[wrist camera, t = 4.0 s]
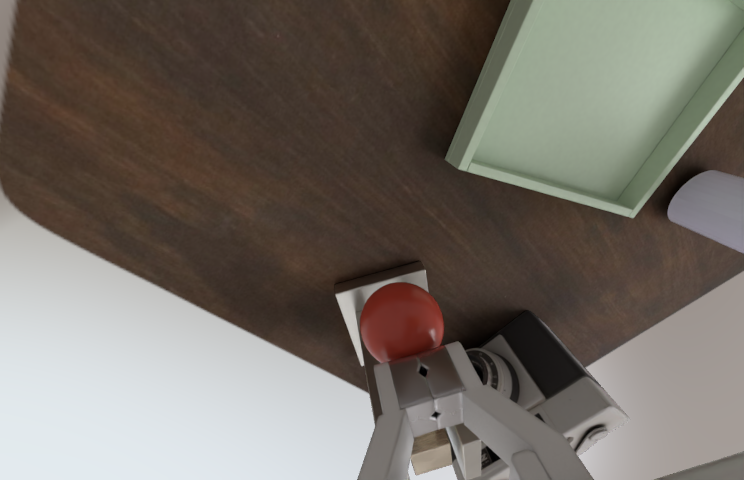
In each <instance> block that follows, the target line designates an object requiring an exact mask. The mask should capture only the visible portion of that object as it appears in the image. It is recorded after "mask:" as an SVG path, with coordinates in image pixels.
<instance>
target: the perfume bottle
mask: <svg viewBox="0 0 744 480" xmlns="http://www.w3.org/2000/svg"><path fill="white" fill-rule="evenodd" d="M668 218H669V219H670V221H672V222H674V223H676V224H678V225H680V226H683V227H685V228H687V229H689V230H692V231H694V232H696V233H698V234H701V235H703V236H705V237H707V238H709V239H712V240H714V241H716V242H718V243H721V244H723V245H725V246H727V247H730V248H732V249H734V250H736V251H738V252H741V253H743V254H744V178H742V177H739V176H735V175H731V174H728V173H724V172H720V171H716V170H710V171H705V172H703V173H700V174H698V175H697V176H695V177H693V178H692V179H690V180H689V181H688V182H687V183H685V184H684V185H683V186H682V187H681V188H680V189H679V190H678V191H677V193H676V194H675V195H674V197H673V199H672V200H671V202H670V204H669V207H668Z"/></svg>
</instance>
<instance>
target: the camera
mask: <svg viewBox="0 0 744 480" xmlns="http://www.w3.org/2000/svg"><path fill="white" fill-rule="evenodd" d="M465 352H466V354H467V356H468V358H469V360H470V362H471V363H472V365H473V367H474V369H475V371H476V373H477V375H478V377H479V378H480V380H481V382H482V384H483V385H487V384H488V385H490V386H491V387H492V388H494V389H495V390H497V391H498V392H500V393H501V394H503V395H504V396H506V397H507V398H509V399H510V400H512V401H513V402H515V403H516V404H518V405H519V406H521V407H522V408H523V409H525V410H526V411H528V412H529V413H531V414H532V415H534V416H535V417H537V418H538V419H540V420H541V421H543V422H544V423H546V424H547V425H549V426H550V427H552V428H553V429H555V430H556V431H557V432H559V433H560V434H562V435H563V436H565V438H566V439H567V441H568V442H569V444H570V445H571V447H572V448H573V450H574V451H575V453H576V454H577V456H579V455H581V454H582V453H584V452H585V451H586V450H588V449H589V448H590V447H591V446H592V445H594V444H595V443H596V442H597V441H598V440H600V439H602V438H604V437H605V436H606V435H607V434H608V433H610V432H611V431H613V430H615V429H617V428H618V427H620V426H622V425H624V424H625V423H627V422H628V421H629V420H630V418H629V417H628V416H627V415H626V413H625V412H624V411H623V410H622V409H621V408H620V407H619V406H618V405H617V403H616V402H615V401H614V400H613V399H612V398H611V397H610V395H608V393H607V392H606V391H605V390H604V389H603V388H602V387H601V386H600V384H599V383H598V382H597V381H596V380H595V379H594V378H593V376H592V375H591V374H590V373H589V372H588V371H587V370H586V368H585V367H584V366H583V365H582V364H581V363H580V362H579V361H578V359H577V358H576V357H575V356H574V355H573V354H572V353H571V352H570V350H569V349H568V348H567V347H566V346H565V345H564V344H563V342H562V341H561V340H560V339H559V338H558V337H557V336H556V335H555V333H554V332H553V331H552V330H551V329H550V328H549V327H548V326H547V325H546V324H545V323H544V322H543V321H542V320H540V319H539V318H538V317H537V316H536V315H534V314H533V313H532V312H531V311H525V312H524V313H522V314H521V315H520V316H518V317H517V318H516V319H514V320H513V321H512V322H510V323H509V324H508V325H506V326H505V327H504V328H503V329H501V330H500V331H499V332H497V333H496V334H495V335H493V336H492V337H491V338H489V339H488V340H487V341H485V342H484V343H483V344H482V345H480V346H479V347H478V348H472V349H467V350H465ZM445 430H446V428H445ZM446 432H447V430H446ZM447 435H448V433H447ZM448 438H449V436H448ZM449 441H450V438H449ZM450 445H451V454H452V465H453V468H454V471H455V474H456V476H457V479H458V480H465V479H464V477H463V474H462V471H461V468H460V466H459V463H458V460H457V458H456V455H455V452H454V449H453V447H452V444H451V441H450ZM509 474H510V466H509V465H507V464H506V463H505V462H504V461H503V460H502V459H501V458H500V457H499V456H498V455H497V454H496V453H494V452H493V451H492V450H491V449H490V448H489V447H488V446H487V445H486V444H485V443H484V442H483V441H482V440H481V476H479V477H476V478H473V479H469V480H509Z"/></svg>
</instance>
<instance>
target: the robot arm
mask: <svg viewBox="0 0 744 480" xmlns="http://www.w3.org/2000/svg"><path fill="white" fill-rule="evenodd" d="M389 365H390V366H389ZM374 372H375V377H376V382H377V387H378V392H379V397H380V402H381V407H382V412H383V415H381V416H379V417H378V420H377V423H376V426H375V429H374V432H373V435H372V438H371V441H370V444H369V447H368V450H367V453H366V456H365V458H364V461H363V464H362V467H361V471H360V473H359V476H358V479H357V480H406V478H407V473H408V468H409V463H410V458H411V452H412V447H413V442H414V437H418V436H421V435H424V434H427V433H430V432H433V431H436V430H439V429H443V428H446V427H450V426H454V425H457V424H461V423H464V425H465V426H466V427H467V428H469V429H470V430H471V431H472V432H473V433H474V434H475V435H476V436H477V437H478V438H479V439H480V440H482V441H483V442H484V443H485V444H486V445H487V446H488V447H489V448H490V449H491V450H492V451H493V452H494V453H496V454H497V455H498V456H499V457H500V458H501V459H502V460H503V461H504V462H505V463H506V464H507V465H509V466H510V474H509V480H594V479H593V478H592V476H591V475H590V473H589V472H588V470H587V469H586V467H585V466H584V464H583V463H582V461H581V460H580V459H579V457H578V456H577V454H576V453H575V451H574V450H573V448H572V447H571V445H570V444H569V442H568V441H567V439H566V438H565V436H563V435H562V434H560V433H559V432H557V431H556V430H555V429H553V428H552V427H550V426H549V425H547V424H546V423H544V422H543V421H541V420H540V419H538V418H537V417H535V416H534V415H532V414H531V413H529V412H528V411H526V410H525V409H523V408H522V407H521V406H519V405H518V404H516V403H515V402H513V401H512V400H510V399H509V398H507V397H506V396H504V395H503V394H501V393H500V392H498V391H497V390H495V389H494V388H492V387H491V386H490V385H488V384H487V385H483V384H482V382H481V380H480V378H479V377H478V375H477V373H476V371H475V369H474V367H473V365H472V363H471V362H470V360H469V358H468V356H467V354H466V352H465V350H464V348H463V347H462V345H461V343H460V342H458V341H457V342H453V343H450V344H447V345H442V346H439V347H435V348H432V349H429V350H426V351H422V352H419V353H416V354H414V355H410V356H406V357H403V358H399V359H395V360H392V361H389V362H388V361H387V362H384V363H380V364H377V365H374ZM655 480H744V451H743V452H740V453H737V454H734V455H731V456H727V457H724V458H721V459H718V460H715V461H712V462H708V463H705V464H702V465H699V466H696V467H692V468H689V469H686V470H683V471H680V472H677V473H673V474H670V475H667V476H664V477H661V478H657V479H655Z"/></svg>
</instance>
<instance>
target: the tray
mask: <svg viewBox="0 0 744 480" xmlns="http://www.w3.org/2000/svg"><path fill="white" fill-rule="evenodd" d="M743 77H744V0H511V1H510V3H509V6H508V8H507V11H506V13H505V15H504V18H503V20H502V23H501V25H500V27H499V30H498V32H497V35H496V37H495V39H494V42H493V44H492V47H491V49H490V51H489V54H488V56H487V59H486V61H485V63H484V66H483V68H482V71H481V73H480V75H479V78H478V80H477V83H476V85H475V87H474V90H473V92H472V95H471V97H470V99H469V102H468V104H467V107H466V109H465V111H464V114H463V116H462V119H461V121H460V123H459V126H458V128H457V131H456V133H455V135H454V138H453V140H452V143H451V145H450V147H449V150H448V152H447V155H446V157H445V160H446V161H448V162H449V163H450V164H452V165H453V166H454V167H456V168H457V169H459V170H463V171H467V172H470V173H473V174H477V175H481V176H484V177H488V178H491V179H495V180H498V181H502V182H506V183H509V184H513V185H516V186H520V187H524V188H527V189H531V190H534V191H538V192H541V193H545V194H549V195H552V196H556V197H559V198H563V199H566V200H570V201H574V202H577V203H581V204H584V205H588V206H591V207H595V208H599V209H602V210H606V211H609V212H613V213H616V214H620V215H624V216H627V217H631V218H634V217H635V215H636V214H637V213H638V212H639V210H640V209H641V208H642V206H643V205H644V204H645V203H646V201H647V200H648V199H649V197H650V196H651V195H652V194H653V192H654V191H655V190H656V189H657V187H658V186H659V185H660V183H661V182H662V181H663V180H664V178H665V177H666V176H667V174H668V173H669V172H670V171H671V169H672V168H673V167H674V166H675V164H676V163H677V162H678V160H679V159H680V158H681V157H682V155H683V154H684V153H685V151H686V150H687V149H688V148H689V146H690V145H691V144H692V143H693V141H694V140H695V139H696V137H697V136H698V135H699V134H700V132H701V131H702V130H703V129H704V127H705V126H706V125H707V123H708V122H709V121H710V120H711V118H712V117H713V116H714V114H715V113H716V112H717V111H718V109H719V108H720V107H721V106H722V104H723V103H724V102H725V100H726V99H727V98H728V97H729V95H730V94H731V93H732V91H733V90H734V89H735V88H736V86H737V85H738V84H739V83H740V81H741V80H742V79H743Z"/></svg>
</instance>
